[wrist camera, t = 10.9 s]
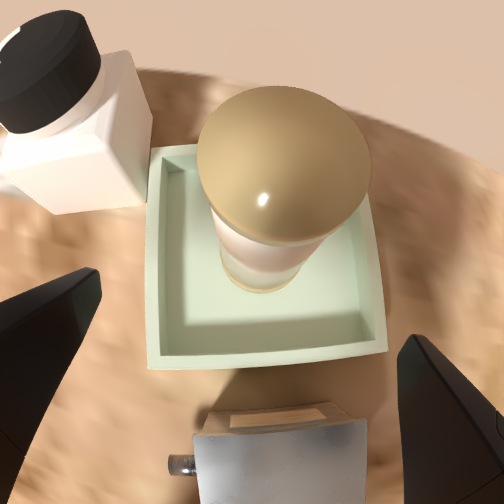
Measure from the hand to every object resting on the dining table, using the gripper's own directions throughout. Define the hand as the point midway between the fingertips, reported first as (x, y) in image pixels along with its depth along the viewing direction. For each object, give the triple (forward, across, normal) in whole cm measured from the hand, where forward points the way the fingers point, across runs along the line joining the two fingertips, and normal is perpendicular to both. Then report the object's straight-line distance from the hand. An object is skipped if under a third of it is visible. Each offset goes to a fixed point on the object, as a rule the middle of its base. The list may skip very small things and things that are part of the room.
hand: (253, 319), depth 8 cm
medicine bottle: (+13, +12, +1) cm, 18 cm away
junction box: (+2, -3, +12) cm, 12 cm away
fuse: (+10, 0, +4) cm, 10 cm away
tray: (+10, 0, +4) cm, 11 cm away
